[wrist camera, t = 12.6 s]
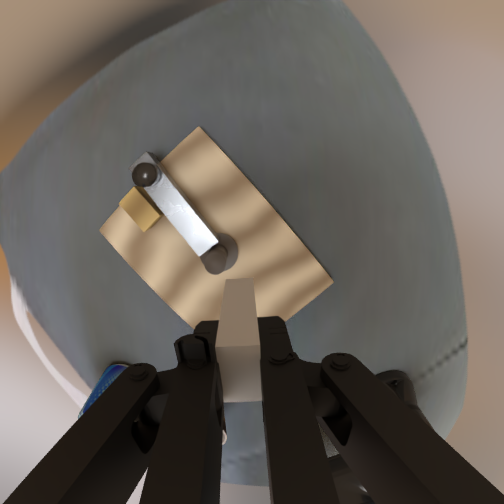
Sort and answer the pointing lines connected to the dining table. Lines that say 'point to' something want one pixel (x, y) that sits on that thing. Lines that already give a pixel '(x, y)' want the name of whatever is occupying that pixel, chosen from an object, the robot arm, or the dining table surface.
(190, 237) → the swing bar
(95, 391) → the beer can
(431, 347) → the dining table surface
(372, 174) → the dining table surface
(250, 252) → the door board
